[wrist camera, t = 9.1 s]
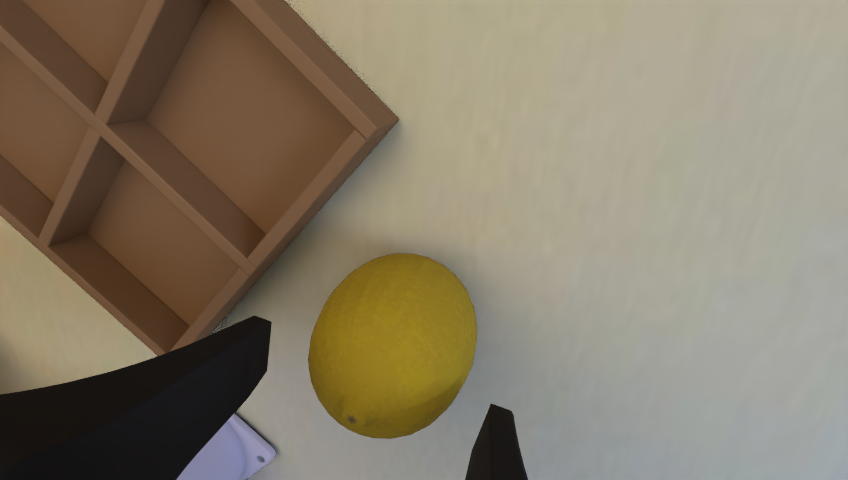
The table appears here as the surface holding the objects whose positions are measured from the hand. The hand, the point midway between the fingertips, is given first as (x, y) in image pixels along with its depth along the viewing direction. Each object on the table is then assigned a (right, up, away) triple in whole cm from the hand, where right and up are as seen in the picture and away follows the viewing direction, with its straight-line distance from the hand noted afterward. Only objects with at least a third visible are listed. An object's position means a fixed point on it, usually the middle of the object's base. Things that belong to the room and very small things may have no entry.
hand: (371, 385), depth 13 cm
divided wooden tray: (-11, +10, +6) cm, 16 cm away
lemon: (+2, +3, +6) cm, 7 cm away
